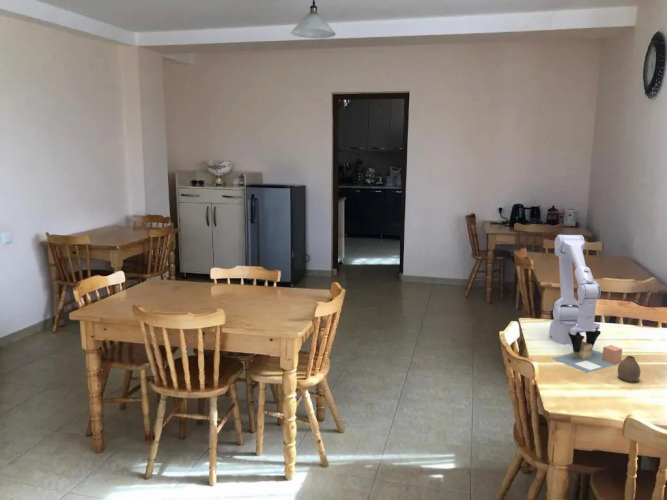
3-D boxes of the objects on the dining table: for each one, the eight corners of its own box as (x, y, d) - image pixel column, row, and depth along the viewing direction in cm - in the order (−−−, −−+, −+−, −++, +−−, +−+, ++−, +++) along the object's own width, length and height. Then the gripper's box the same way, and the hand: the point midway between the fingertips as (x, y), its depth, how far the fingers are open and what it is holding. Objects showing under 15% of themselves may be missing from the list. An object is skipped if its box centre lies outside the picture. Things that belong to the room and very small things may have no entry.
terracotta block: (602, 359, 210) (603, 346, 209) (609, 357, 212) (611, 344, 211) (613, 363, 206) (614, 350, 205) (620, 361, 209) (622, 348, 208)
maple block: (572, 355, 214) (574, 342, 213) (580, 353, 216) (582, 340, 215) (583, 359, 210) (584, 346, 209) (591, 357, 212) (592, 344, 211)
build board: (551, 360, 211) (551, 357, 211) (589, 350, 222) (589, 348, 221) (586, 374, 198) (587, 372, 198) (625, 363, 209) (625, 361, 209)
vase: (611, 378, 195) (614, 354, 194) (626, 375, 198) (629, 352, 196) (628, 386, 189) (631, 361, 187) (643, 383, 192) (647, 359, 190)
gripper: (583, 320, 203) (579, 356, 206) (608, 315, 210) (604, 350, 213) (566, 315, 209) (563, 350, 212) (591, 310, 216) (588, 344, 219)
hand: (582, 350), depth 213 cm, fingers open, 7 cm apart
